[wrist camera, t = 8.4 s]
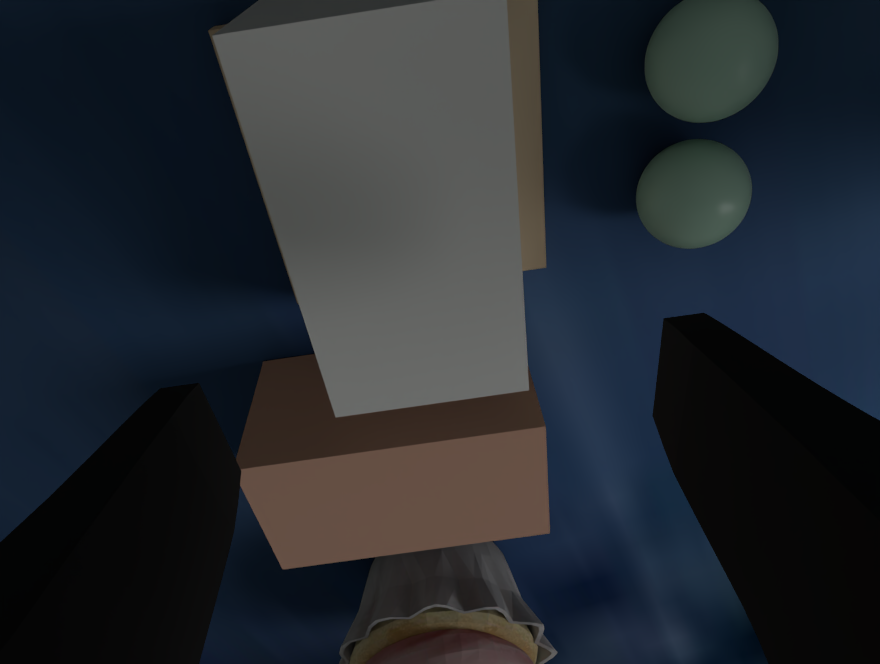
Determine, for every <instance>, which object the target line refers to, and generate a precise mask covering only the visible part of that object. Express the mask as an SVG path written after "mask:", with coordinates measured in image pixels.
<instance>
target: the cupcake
mask: <svg viewBox="0 0 880 664" xmlns="http://www.w3.org/2000/svg"><path fill="white" fill-rule="evenodd" d="M543 632H544V625H543V623H542V622H541V621H540V620H539V619H538V618H537V616H536V615H535V614H534V613H533V612H532V610H531V609H530V608H529V607H528V606H527V604H526V603H525V602H524V601H523V600H522V598H521V595H520V593H519V590H518V588H517V586H516V583H515V581H514V578H513V576H512V574H511V571H510V569H509V567H508V564H507V562H506V560H505V557H504V555H503V554H502V552H501V551H500V550H499V549H498V547H497V546H496V545H495V544H494V543H493V542H492V541H489V542H482V543H475V544H467V545H460V546H453V547H445V548H438V549H431V550H423V551H416V552H408V553H401V554H394V555H386V556H379V557H376V558H375V559H374V561H373V563H372V565H371V568H370V571H369V575H368V578H367V582H366V585H365V589H364V593H363V597H362V600H361V604H360V608H359V611H358V613H357V615H356V617H355V619H354V621H353V624H352V626H351V628H350V630H349V632H348V634H347V636H346V638H345V640H344V642H343V644H342V646H341V648H340V652H339V654H340V655H341V657H342V658H341V660H340V662H339V664H544V663H545V662H547V661H548V660H550V659H551V658H553V657H554V656H555V655H556V654H557V652H556V650H555V649H554V648H553V646H552V645H551V644H550V643H549V641H548V640H547V639H546V637H545V636H544V635H543Z"/></svg>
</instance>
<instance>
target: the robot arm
mask: <svg viewBox="0 0 880 664" xmlns="http://www.w3.org/2000/svg"><path fill="white" fill-rule="evenodd" d="M653 418H654V421H655V424H656V426H657V429H658V432H659V435H660V438H661V441H662V444H663V446H664V449H665V452H666V454H667V457H668V460H669V462H670V465H671V467H672V470H673V473H674V475H675V477H676V479H677V481H678V483H679V485H680V487H681V489H682V491H683V492H684V494H685V496H686V498H687V500H688V502H689V504H690V506H691V508H692V510H693V512H694V514H695V516H696V518H697V520H698V521H699V523H700V525H701V527H702V529H703V531H704V533H705V535H706V537H707V539H708V540H709V542H710V544H711V546H712V548H713V550H714V552H715V554H716V556H717V558H718V560H719V561H720V563H721V565H722V567H723V569H724V571H725V573H726V575H727V577H728V579H729V580H730V582H731V584H732V586H733V588H734V590H735V592H736V594H737V596H738V598H739V600H740V601H741V603H742V605H743V607H744V609H745V611H746V614H747V616H748V618H749V620H750V622H751V624H752V626H753V628H754V630H755V633H756V635H757V637H758V639H759V641H760V644H761V646H762V649H763V651H764V654H765V656H766V658H767V661H768V663H769V664H880V421H879V420H878V419H876V418H874V417H872V416H870V415H869V414H867V413H865V412H863V411H862V410H860V409H858V408H857V407H855V406H853V405H851V404H850V403H848V402H846V401H845V400H843V399H841V398H840V397H838V396H836V395H835V394H833V393H831V392H830V391H828V390H826V389H825V388H823V387H821V386H820V385H818V384H816V383H815V382H813V381H812V380H810V379H808V378H807V377H805V376H804V375H802V374H800V373H799V372H797V371H796V370H794V369H792V368H791V367H789V366H788V365H786V364H784V363H783V362H781V361H780V360H778V359H777V358H775V357H774V356H772V355H770V354H769V353H767V352H766V351H764V350H763V349H761V348H760V347H758V346H756V345H755V344H753V343H752V342H750V341H749V340H747V339H746V338H744V337H742V336H741V335H739V334H738V333H736V332H735V331H733V330H732V329H730V328H728V327H727V326H725V325H724V324H722V323H720V322H719V321H717V320H715V319H714V318H712V317H710V316H709V315H707V314H705V313H699V314H692V315H685V316H678V317H671V318H664V321H663V330H662V338H661V347H660V356H659V365H658V374H657V382H656V391H655V400H654V409H653ZM240 480H241V469H240V467H239V465H238V463H237V461H236V459H235V457H234V455H233V453H232V451H231V449H230V446H229V444H228V442H227V440H226V438H225V436H224V434H223V432H222V430H221V428H220V426H219V424H218V422H217V420H216V417H215V415H214V413H213V411H212V409H211V407H210V405H209V403H208V401H207V399H206V397H205V395H204V393H203V391H202V388H201V386H200V384H199V383H196V384H188V385H181V386H174V387H167V388H160V389H159V390H158V391H157V392H156V393H155V394H154V395H153V396H151V397H150V398H149V399H148V400H147V401H146V402H145V403H144V404H143V405H142V406H141V407H140V408H139V409H138V410H137V411H136V412H135V413H133V414H132V415H131V416H130V417H129V418H128V419H127V420H126V421H125V422H124V423H123V424H122V425H121V426H120V427H119V428H118V429H117V430H116V431H115V432H114V433H113V434H112V435H111V436H110V437H109V438H108V439H107V440H106V441H105V442H104V443H103V444H102V445H101V446H100V447H99V448H98V449H97V450H96V451H95V452H94V453H93V454H92V455H91V456H90V457H89V458H88V459H87V460H86V461H85V462H84V463H83V464H82V465H81V466H80V467H79V468H78V469H77V470H76V471H75V472H74V473H73V474H72V475H71V476H70V477H69V478H68V479H67V480H66V481H65V482H64V483H63V484H62V485H61V486H60V487H59V488H58V489H57V490H56V491H55V492H54V493H53V494H52V495H51V496H50V497H49V498H48V499H47V500H46V501H45V502H43V503H42V504H41V505H40V506H39V507H38V508H37V509H36V510H35V511H34V512H33V513H32V514H31V515H29V516H28V517H27V518H26V519H25V520H24V521H23V522H22V523H21V524H20V525H19V526H18V527H16V528H15V529H14V530H13V531H12V532H11V533H10V534H9V535H8V536H7V537H6V538H5V539H3V540H2V541H1V542H0V664H199V662H200V658H201V654H202V650H203V647H204V643H205V639H206V636H207V632H208V628H209V624H210V621H211V617H212V613H213V610H214V606H215V602H216V598H217V595H218V591H219V587H220V584H221V580H222V576H223V572H224V568H225V565H226V561H227V557H228V553H229V549H230V545H231V541H232V537H233V533H234V527H235V520H236V513H237V506H238V498H239V489H240Z"/></svg>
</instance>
